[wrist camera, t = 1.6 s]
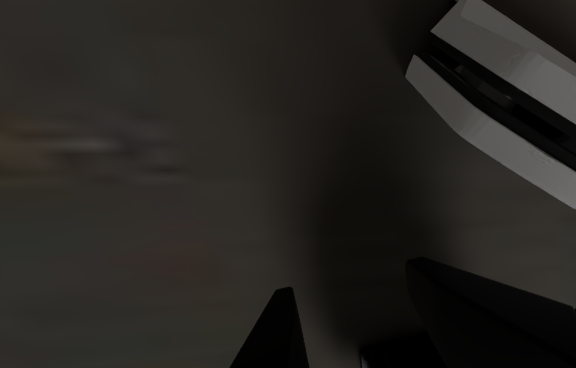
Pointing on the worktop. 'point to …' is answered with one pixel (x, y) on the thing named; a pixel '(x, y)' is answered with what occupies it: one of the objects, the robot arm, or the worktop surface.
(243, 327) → the worktop surface
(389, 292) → the worktop surface
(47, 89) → the worktop surface
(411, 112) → the worktop surface
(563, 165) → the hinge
